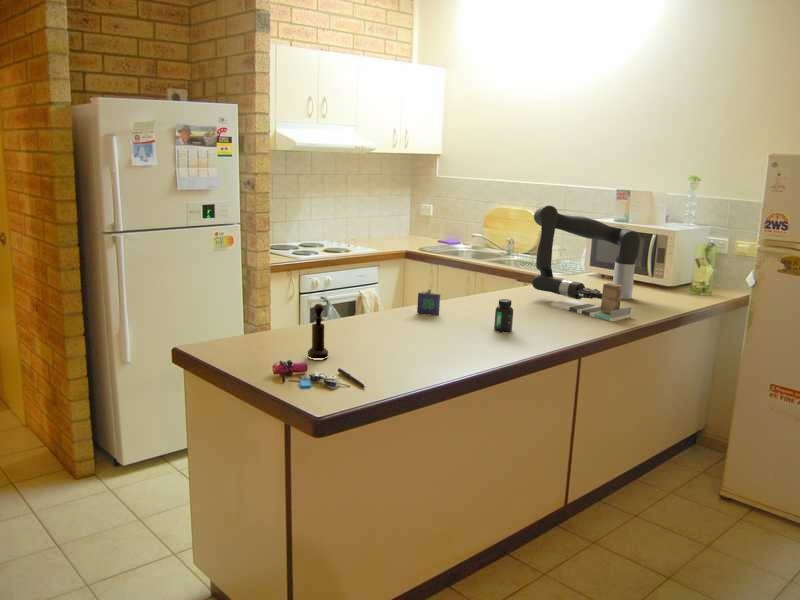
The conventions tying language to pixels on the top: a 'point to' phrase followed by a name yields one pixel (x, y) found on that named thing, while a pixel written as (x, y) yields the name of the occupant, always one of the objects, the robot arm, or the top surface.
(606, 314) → the track
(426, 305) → the flask
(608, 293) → the slider block
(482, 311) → the top surface
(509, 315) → the supplement bottle
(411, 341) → the top surface
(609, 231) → the robot arm
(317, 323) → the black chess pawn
